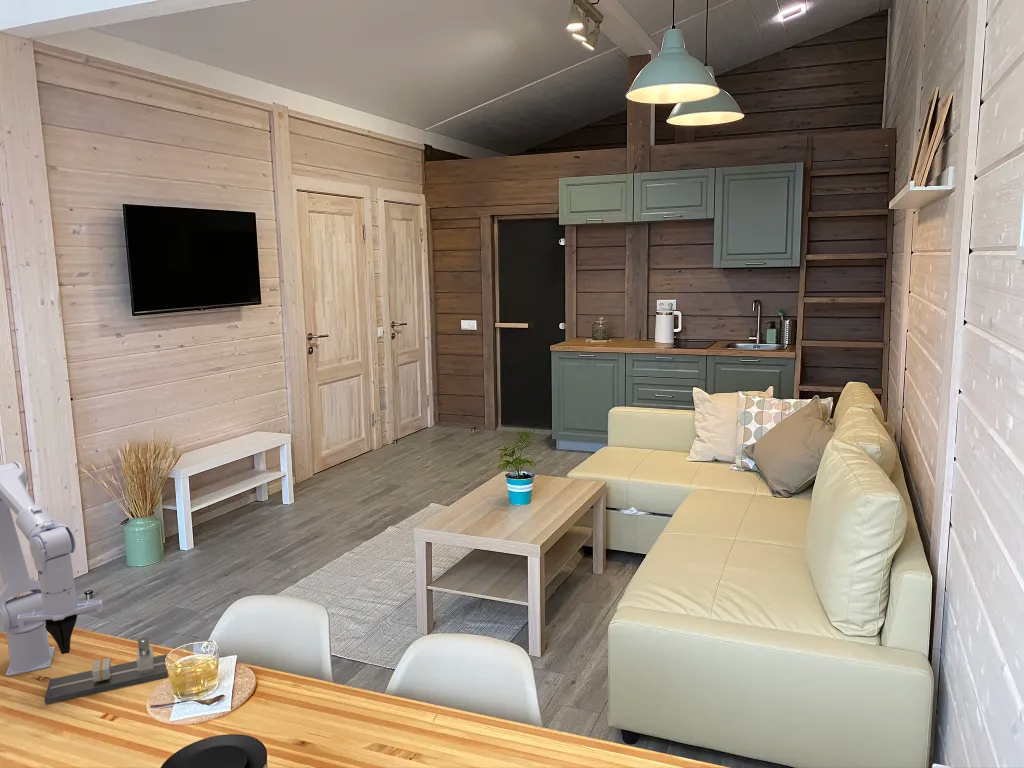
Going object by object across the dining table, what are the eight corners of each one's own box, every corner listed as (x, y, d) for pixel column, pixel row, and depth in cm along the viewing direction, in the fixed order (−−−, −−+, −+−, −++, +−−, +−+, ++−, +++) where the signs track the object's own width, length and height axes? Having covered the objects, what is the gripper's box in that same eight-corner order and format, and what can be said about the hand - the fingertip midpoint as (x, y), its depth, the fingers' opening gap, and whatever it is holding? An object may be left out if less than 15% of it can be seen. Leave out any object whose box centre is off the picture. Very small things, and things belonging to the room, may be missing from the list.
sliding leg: (95, 670, 159) (93, 660, 158) (111, 667, 160) (110, 657, 160) (93, 682, 154) (92, 672, 154) (110, 679, 155) (108, 668, 155)
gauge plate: (50, 684, 157) (46, 651, 156) (167, 659, 166) (164, 627, 165) (45, 704, 150) (40, 669, 148) (167, 677, 159) (164, 644, 157)
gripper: (11, 603, 145) (20, 669, 147) (97, 588, 151) (105, 652, 153) (17, 589, 151) (26, 652, 153) (100, 575, 157) (107, 636, 159)
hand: (65, 651), depth 154 cm, fingers closed
